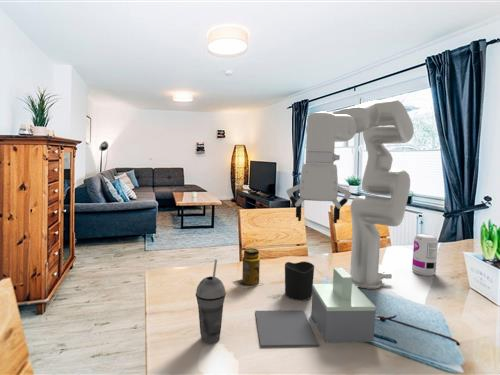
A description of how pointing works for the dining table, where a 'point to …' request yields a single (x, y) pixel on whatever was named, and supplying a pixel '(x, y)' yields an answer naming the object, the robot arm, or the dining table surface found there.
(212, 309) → the beverage cup
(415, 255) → the supplement can
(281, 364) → the dining table surface
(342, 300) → the green slab
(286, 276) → the pen holder
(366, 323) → the tub
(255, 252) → the condiment
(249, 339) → the dining table surface
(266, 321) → the dark grey flat plate
